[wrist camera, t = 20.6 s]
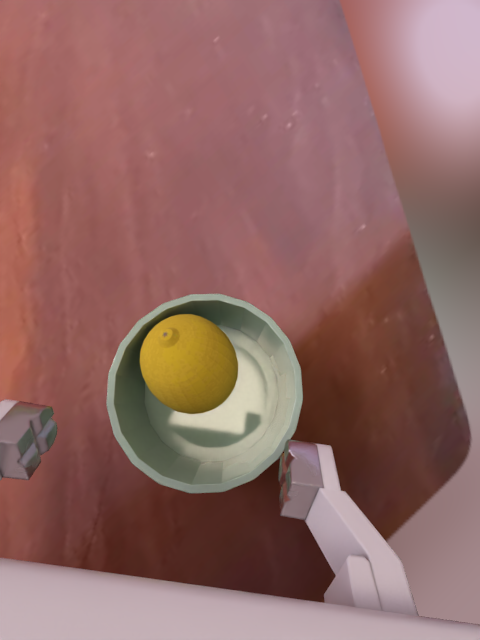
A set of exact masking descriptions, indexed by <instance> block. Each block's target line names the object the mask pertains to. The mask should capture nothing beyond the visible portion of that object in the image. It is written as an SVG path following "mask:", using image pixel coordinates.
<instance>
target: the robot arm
mask: <svg viewBox="0 0 480 640" xmlns="http://www.w3.org/2000/svg"><path fill="white" fill-rule="evenodd" d="M53 414H54V412H53V409H52V407H50V406H45V405H39V404H33V403H27V402H21V401H14V400H8V399H5V400H3V401H1V402H0V480H1V479H2V477H4V478H13V479H22V480H29V479H30V477H31V476H32V475H33V473H34V472H35V470H36V469H37V467H38V466H39V464H40V463H41V457H40V455H42V454H44V453H45V452H47V451H49V449H50V448H51V446H52V445H53V443H54V441H55V438H56V435H57V424H56V422H55V421H54V420H53V419H52V418H51V417H52V416H53ZM279 484H280V485H281V487H282V488H281V492H280V495H279V502H280V516H285V517H291V518H297V519H303V520H306V521H305V522H306V524H307V525H308V527H309V529H310V531H311V533H312V534H313V536H314V538H315V540H316V541H317V543H318V545H319V547H320V549H321V550H322V552H323V554H324V556H325V558H326V559H327V561H328V563H329V565H330V566H331V568H332V570H333V572H334V574H335V575H336V577H335V578H334V580H333V581H332V583H331V585H330V586H329V588H328V589H327V591H326V592H325V594H324V600H325V603H322V602H315V601H308V600H300V599H293V598H286V597H279V596H272V595H265V594H258V593H250V592H243V591H236V590H229V589H222V588H215V587H208V586H200V585H193V584H186V583H179V582H172V581H165V580H157V579H150V578H143V577H136V576H129V575H122V574H115V573H107V572H100V571H93V570H86V569H79V568H72V567H65V566H57V565H50V564H43V563H36V562H29V561H22V560H14V559H7V558H0V640H480V625H479V624H472V623H465V622H458V621H451V620H443V619H436V618H429V617H422V616H419V615H418V612H417V609H416V606H415V603H414V599H413V596H412V593H411V590H410V587H409V583H408V580H407V577H406V574H405V571H404V567H403V564H402V561H401V559H400V558H399V557H398V556H397V555H396V553H395V552H394V551H393V550H392V548H391V547H390V546H389V545H388V543H387V542H386V541H385V540H384V538H383V537H382V536H381V535H380V534H379V532H378V531H377V530H376V529H375V527H374V526H373V525H372V524H371V522H370V521H369V520H368V519H367V517H366V516H365V515H364V514H363V513H362V511H361V510H360V509H359V508H358V506H357V505H356V504H355V503H354V501H353V500H352V499H351V498H350V496H349V495H348V494H347V493H346V492H345V491H341V488H340V484H339V479H338V474H337V469H336V465H335V460H334V455H333V451H332V448H331V446H330V445H323V444H315V443H311V442H303V441H295V440H286V442H285V445H284V453H283V454H282V455H281V459H280V464H279Z"/></svg>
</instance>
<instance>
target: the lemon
mask: <svg viewBox="0 0 480 640" xmlns="http://www.w3.org/2000/svg"><path fill="white" fill-rule="evenodd" d="M140 367H141V372H142V376H143V378H144V380H145V382H146V384H147V386H148V388H149V390H150V391H151V393H152V394H153V395H154V396H155V397H156V398H157V399H158V400H159V401H160V402H161V403H162V404H164V405H165V406H167V407H169V408H171V409H173V410H175V411H177V412H182V413H187V414H199V413H205V412H208V411H210V410H213V409H215V408H216V407H218V406H219V405H221V404H222V403H223V402H224V401H225V400H226V399H227V398H228V397H229V396H230V394H231V392H232V391H233V389H234V387H235V384H236V381H237V378H238V360H237V356H236V352H235V349H234V347H233V345H232V343H231V341H230V340H229V338H228V336H227V335H226V334H225V333H224V332H223V331H222V330H221V329H220V328H219V327H218V326H217V325H215V324H214V323H213V322H211V321H209V320H207V319H205V318H203V317H201V316H197V315H192V314H179V315H175V316H171V317H169V318H166V319H164V320H162V321H161V322H159V323H158V324H157V325H155V326H154V327H153V329H152V330H151V331H150V332H149V333H148V335H147V336H146V338H145V339H144V342H143V344H142V347H141V351H140Z"/></svg>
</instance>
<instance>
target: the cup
mask: <svg viewBox="0 0 480 640" xmlns="http://www.w3.org/2000/svg"><path fill="white" fill-rule="evenodd" d="M179 314H192V315H197V316H201V317H203V318H205V319H207V320H209V321H211V322H213V323H214V324H215V325H217V326H218V327H219V328H220V329H221V330H222V331H223V332H224V333H225V334H226V335H227V336H228V338H229V340H230V341H231V343H232V345H233V347H234V349H235V352H236V356H237V360H238V378H237V381H236V384H235V387H234V389H233V391H232V392H231V394H230V396H229V397H228V398H227V399H226V400H225V401H224V402H223V403H222V404H221V405H219V406H218V407H216V408H215V409H213V410H210V411H208V412H205V413H199V414H187V413H182V412H177V411H175V410H173V409H171V408H169V407H167V406H165V405H164V404H162V403H161V402H160V401H159V400H158V399H157V398H156V397H155V396H154V395H153V394H152V393H151V391H150V390H149V388H148V386H147V384H146V382H145V380H144V378H143V376H142V372H141V367H140V351H141V347H142V344H143V342H144V339H145V338H146V336H147V335H148V333H149V332H150V331H151V330H152V329H153V327H154V326H155V325H157V324H158V323H159V322H161V321H162V320H164V319H166V318H169V317H171V316H175V315H179ZM302 402H303V390H302V377H301V367H300V365H299V362H298V360H297V357H296V355H295V352H294V350H293V347H292V345H291V342H290V341H289V339H288V338H287V336H286V335H285V334H284V333H283V331H282V330H281V329H280V328H279V327H278V325H277V324H276V323H275V322H274V320H273V319H272V318H271V317H270V316H268V315H266V314H265V313H263V312H262V311H260V310H259V309H257V308H256V307H254V306H253V305H251V304H250V303H248V302H246V301H243V300H239V299H236V298H232V297H229V296H225V295H222V294H192V295H188V296H185V297H181V298H178V299H175V300H172V301H169V302H166V303H164V304H162V305H160V306H159V307H157V308H156V309H155V310H153V311H152V312H150V313H149V314H147V315H146V316H144V317H143V318H142V319H140V320H139V321H138V322H137V323H136V325H135V326H134V327H133V328H132V330H131V331H130V332H129V333H128V335H127V336H126V337H125V339H124V340H123V341H122V342H121V344H120V345H119V348H118V350H117V353H116V356H115V358H114V361H113V363H112V366H111V368H110V371H109V374H108V389H107V404H106V405H107V410H108V413H109V417H110V421H111V425H112V429H113V433H114V436H115V438H116V440H117V441H118V443H119V444H120V446H121V447H122V449H123V450H124V452H125V453H126V455H127V457H128V458H129V460H130V461H131V463H133V465H134V466H136V467H137V468H138V469H140V470H141V471H142V472H144V473H145V474H146V475H148V476H149V477H150V478H152V479H153V480H154V481H156V482H157V483H159V484H161V485H164V486H167V487H171V488H174V489H177V490H180V491H183V492H187V493H213V492H225V491H227V490H230V489H232V488H234V487H237V486H239V485H242V484H244V483H247V482H249V481H252V480H254V479H255V478H257V477H258V476H259V475H260V474H261V473H262V472H263V471H265V470H266V469H267V468H268V467H269V466H270V465H272V464H273V463H274V462H275V461H276V460H277V459H278V458H279V457H280V456H281V454H282V452H283V451H284V445H285V442H286V440H290V439H291V437H292V436H293V434H294V432H295V430H296V428H297V423H298V419H299V415H300V411H301V406H302Z"/></svg>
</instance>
